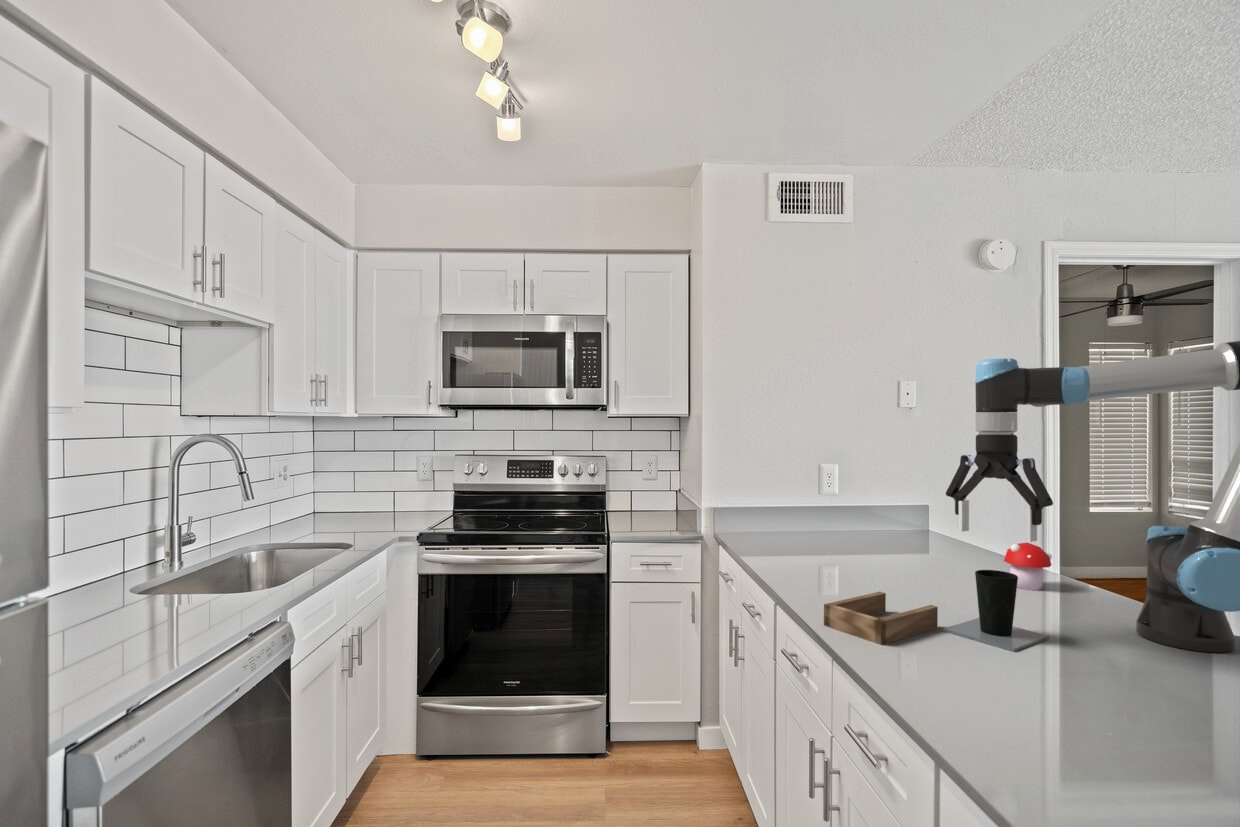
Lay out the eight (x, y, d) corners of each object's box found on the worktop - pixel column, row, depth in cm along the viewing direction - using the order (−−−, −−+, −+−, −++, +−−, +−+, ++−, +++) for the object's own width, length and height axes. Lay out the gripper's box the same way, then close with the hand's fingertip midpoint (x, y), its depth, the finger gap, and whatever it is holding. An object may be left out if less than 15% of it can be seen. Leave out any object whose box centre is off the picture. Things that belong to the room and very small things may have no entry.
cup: (1023, 639, 129) (1024, 579, 129) (982, 636, 130) (982, 577, 130) (1008, 627, 136) (1009, 570, 136) (969, 624, 138) (969, 568, 138)
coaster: (1048, 638, 131) (1048, 635, 131) (1014, 651, 124) (1014, 648, 124) (979, 620, 143) (979, 617, 143) (943, 631, 135) (943, 628, 135)
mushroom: (1037, 582, 176) (1037, 539, 176) (1061, 593, 165) (1061, 547, 166) (996, 581, 177) (996, 538, 177) (1017, 592, 166) (1017, 546, 167)
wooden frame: (937, 627, 138) (937, 606, 138) (881, 644, 127) (881, 621, 127) (879, 610, 149) (879, 591, 149) (823, 625, 139) (823, 604, 139)
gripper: (1072, 434, 125) (1072, 543, 125) (948, 432, 146) (948, 525, 146) (1054, 435, 121) (1054, 547, 121) (929, 432, 142) (928, 528, 142)
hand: (996, 535), depth 133 cm, fingers open, 13 cm apart
